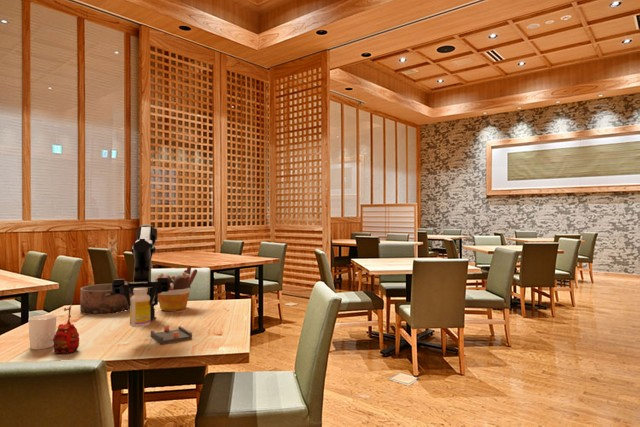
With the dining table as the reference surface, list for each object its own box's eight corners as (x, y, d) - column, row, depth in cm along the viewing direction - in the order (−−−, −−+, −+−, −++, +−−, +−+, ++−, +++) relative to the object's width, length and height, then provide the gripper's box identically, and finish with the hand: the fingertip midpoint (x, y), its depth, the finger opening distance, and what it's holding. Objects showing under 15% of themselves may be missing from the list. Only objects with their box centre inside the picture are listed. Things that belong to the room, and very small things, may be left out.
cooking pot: (67, 309, 199) (68, 286, 199) (113, 302, 217) (114, 281, 217) (99, 318, 181) (99, 293, 181) (146, 309, 199) (146, 287, 199)
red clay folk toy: (47, 354, 132) (48, 307, 133) (61, 348, 140) (62, 303, 140) (71, 355, 133) (72, 307, 133) (84, 348, 140) (84, 303, 140)
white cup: (36, 343, 144) (37, 314, 144) (60, 343, 145) (61, 314, 145) (22, 350, 136) (23, 320, 137) (48, 350, 137) (48, 319, 137)
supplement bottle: (154, 323, 148) (155, 287, 148) (139, 328, 142) (140, 290, 142) (140, 321, 150) (141, 286, 151) (125, 326, 144) (125, 289, 144)
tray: (150, 336, 153) (150, 327, 153) (180, 331, 160) (180, 323, 160) (160, 344, 144) (160, 335, 144) (191, 339, 150) (192, 330, 150)
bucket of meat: (165, 314, 188) (166, 270, 188) (145, 309, 198) (146, 267, 198) (202, 307, 204) (202, 266, 204) (182, 303, 214) (182, 264, 214)
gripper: (168, 281, 164) (168, 316, 153) (116, 283, 157) (112, 320, 147) (169, 263, 156) (168, 298, 146) (113, 265, 150) (109, 302, 140)
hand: (140, 305), depth 145 cm, fingers closed on supplement bottle, 7 cm apart
